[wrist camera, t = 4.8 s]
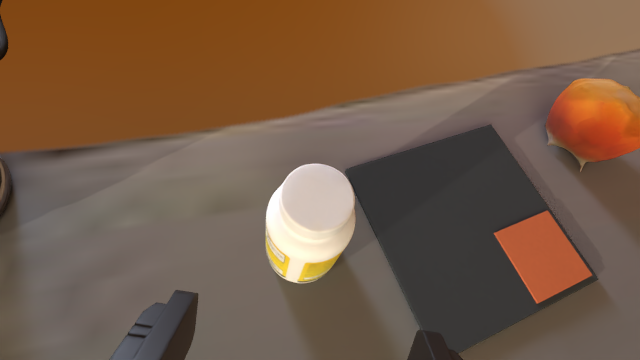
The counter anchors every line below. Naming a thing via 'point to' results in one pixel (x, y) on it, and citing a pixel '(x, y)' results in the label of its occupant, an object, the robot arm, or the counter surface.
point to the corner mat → (468, 236)
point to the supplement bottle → (309, 222)
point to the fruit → (595, 120)
